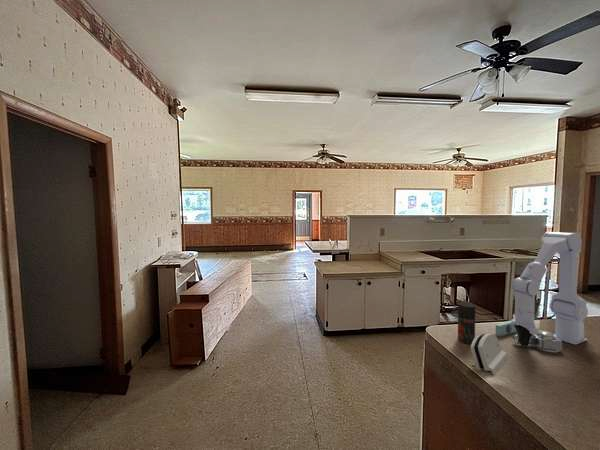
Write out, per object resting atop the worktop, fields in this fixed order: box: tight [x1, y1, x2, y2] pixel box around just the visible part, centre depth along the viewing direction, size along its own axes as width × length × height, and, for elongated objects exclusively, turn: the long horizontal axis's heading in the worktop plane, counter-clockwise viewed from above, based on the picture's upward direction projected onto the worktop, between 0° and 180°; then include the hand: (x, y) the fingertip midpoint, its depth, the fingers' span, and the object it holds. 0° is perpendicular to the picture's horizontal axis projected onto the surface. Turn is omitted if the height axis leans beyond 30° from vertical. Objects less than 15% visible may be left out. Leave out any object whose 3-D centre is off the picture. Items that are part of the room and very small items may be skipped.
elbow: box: [512, 334, 563, 351], centre depth 104 cm, size 14×7×4 cm, turn 76°
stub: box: [531, 330, 561, 354], centre depth 103 cm, size 8×8×6 cm
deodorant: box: [457, 301, 476, 346], centre depth 109 cm, size 6×6×15 cm
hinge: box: [470, 333, 510, 377], centre depth 94 cm, size 17×5×10 cm, turn 130°
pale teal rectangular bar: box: [495, 320, 518, 337], centre depth 116 cm, size 12×2×4 cm, turn 113°
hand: (524, 345), depth 103 cm, fingers closed, pressing on elbow
